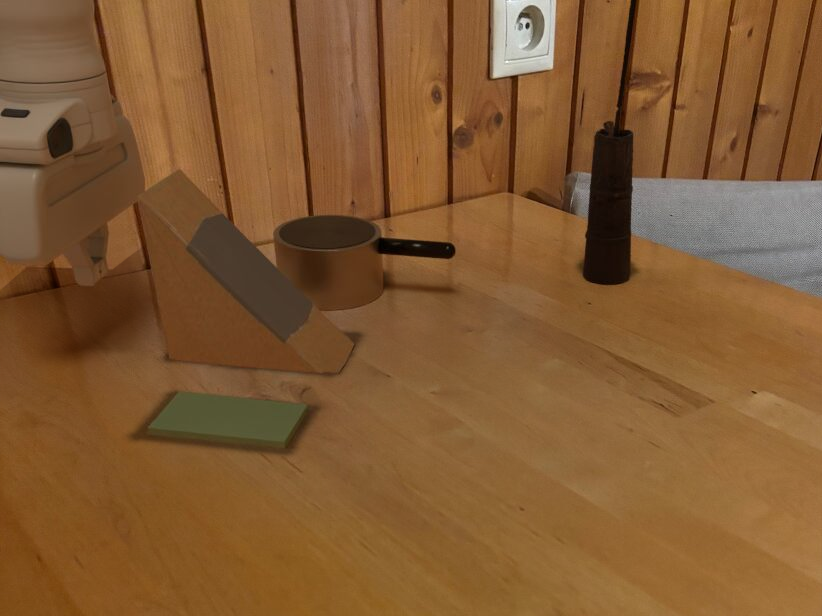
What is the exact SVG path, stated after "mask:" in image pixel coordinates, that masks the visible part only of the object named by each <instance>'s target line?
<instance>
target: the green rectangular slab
mask: <svg viewBox="0 0 822 616" xmlns="http://www.w3.org/2000/svg"><path fill="white" fill-rule="evenodd" d="M308 413H309V404H308V403H299V402H288V401H278V400H269V399H259V398H250V397H249V398H247V397H237V396H229V395H228V396H226V395H217V394H207V393H197V392H186V391H178V392H177V393H176V394H175V396H174V397H172V399H171V400H170V401H169V403H168V404H167V405H165V407H164V408H163V409H162V410H161V412H160V413H159V414H158V415H157V416H156V417H155V419H153V420H152V422H151V423H150V424H149V426H148V427H147V430H148V434H149V435H151V436H152V435H153V436H162V437H172V438H180V439H191V440H199V441H208V442H209V441H210V442H218V443H219V442H220V443H221V442H222V443H226V444H227V443H228V444H239V445H245V446H246V445H247V446H255V447H256V446H258V447H267V448H276V449H286V448H287V447H288V446H289V444H290V442H291V440H292V439H293V437H294V435H295V434H296V432H297V431H298V429H299V427H300V426H301V425H302V423H303V421H304V419H305V418H306V416H307V415H308Z"/></svg>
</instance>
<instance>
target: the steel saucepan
mask: <svg viewBox="0 0 822 616" xmlns="http://www.w3.org/2000/svg"><path fill="white" fill-rule="evenodd" d="M382 233H383V232H382V229H381V227H380V225H378V224H377V223H375V222H374V221H371V220H369V219H366V218H362V217H358V216H352V215H346V214H345V215H344V214H318V215H317V214H316V215H308V216H302V217H298V218H293V219H290V220H287V221H285V222H282V223H281V224H279V225H278V226H277V227H275V228H274V230H273V233H272V237H273V245H274V246H273V247H274V256H275V264H276V265H275V267H276V268H277V269H278V270H279V271H280V272H281V273H282V274H283V275H284V276H285V277H286V278H287V279H288V280H289V281H290V282H291V283H292V284H293V285H295V286H296V287H297V288H298V289H299V290H300V291H301V292H302V293H303V294H304V295H305V296H306V297H307V298H308V299H309V300H310V301H311V302H312V303H313V304H314V305H315V306H316V307H317V308H318V309H319V310H320V311H337V310H338V311H339V310H346V309H354V308H358V307H361V306H364V305H367V304H369V303H371V302H372V303H373V302H374V301H375V300H377V299H379V298H380V297H381V295H382V294H383V292H384V264H383V255H386V256H401V257H413V258H426V259H428V258H429V259H439V260H440V259H441V260H450V259H452V258H454V257H455V256H456V253H457V250H456V246H455V245H454V244H453V243H452V242H449V241H437V240H436V241H435V240H421V239H411V238H410V239H407V238H395V237H383V236H382V235H383V234H382Z"/></svg>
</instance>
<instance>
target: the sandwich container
mask: <svg viewBox="0 0 822 616" xmlns="http://www.w3.org/2000/svg"><path fill="white" fill-rule="evenodd" d="M137 204H138V209H139V214H140V220H141V224H142V229H143V234H144V239H145V245H146V249H147V254H148V260H149V265H150V269H151V275H152V279H153V285H154V289H155V294H156V300H157V304H158V305H157V306H158V309H159V314H160V319H161V324H162V331H163V334H164V340H165V344H166V349H167V355H168V359H170V360H173V361H182V362H191V363H192V362H193V363H201V364H210V365H221V366H232V367H244V368H255V369H256V368H257V369H268V370H279V371H280V370H281V371H292V372H305V373H315V374H323V373H334V374H339V373H340V372H341V371H342V369H343V368H344V366H345V364H346V363H347V361H348V359H349V358H350V355H351V353H352V351H353V349H354V346H355V342H353V341H352V340H351V339H350V338H349V337H348V336H347V335H346V334H345V333H344V332H343V331H341V329H340V328H338V326H336V324H334V322H332V320H330V319H329V318H328V317H327V316H326V315H325V313H323V312H322V310H319V309H318V308H317V307H316V306H315V305H314V304H313V303H312V302H311V301H310V300H309V299H308V298H307V297H306V296H305V295H304V294H303V293H302V292H301V291H300V290H299V289H298V288H297V287H296V286H295V285H293V284H292V283H291V282H290V281H289V280H288V279H287V278H286V277H285V276H284V275H283V274H282V273H281V272H280V271H279V270H278V269H277V266H276V265H275V264H274V263H273V262H272V261H271V260H270V259H269V258H268V257H267V256H266V254H264V253H263V252H262V251H261V250H260V249H259V248H258V247H257V246H256V245H255V244H254V243H253V242H252V241H250V240H249V238H247V236H246V235H245V234H244V233H243V232H242V231H241V230H240V229H239V228H238V227H237V226H236V225H235V224H234V223H233V222H232V221H231V220H230V219H229V218H228V217H227V216H226V215H225V214H224V213H223V212H222V210H220V209H219V208H218V206H216V205H215V204H214V202H213V201H211V199H209V197H208V196H207V195H206V194H205V193H204V192H203V191H202V190H201V189H200V188H199V187H198V186H197V185H196V184H195V183H194V181H192V180H191V179H190V178H189V177H188V176H187V175H186V174H185V172H184V171H183V170H182V169H181V168H178V169H177V170H175V171H173V172H172V173H170V174H169V175H167V176H166V177H164V178H162V179H161V180H159V181H158V182H157V183H154V184H153V185H152V186H150V187H149V188H148V189H145V191H144V192H143V193H142V194H140V195H139V196H138V201H137Z"/></svg>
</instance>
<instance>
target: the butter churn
mask: <svg viewBox="0 0 822 616" xmlns="http://www.w3.org/2000/svg"><path fill="white" fill-rule="evenodd" d="M636 8H637V0H630V5H629V9H628V20H627V25H626V32H625V33H626V34H625V41H624V42H625V43H624V49H623V50H624V51H623V52H624V54H623V61H622V69H621V75H620V83H619V84H620V85H619V89H618V97H617V101H616V108H617V110H616V112H615V117H614V121H612V120H606V121H605V122H603V124H602V125H603V128H600V129H599V130H596V131H595V134H594V137H593V148H592V160H591V172H590V183H589V198H588V207H587V208H588V209H587V210H588V211H587V224H586V225H587V226H586V231H585V234H584V239H585V245H584V246H585V247H584V259H583V270H582V277H583V278H584V279H585V280H586V281H588V282H590V283H595V284H602V285H617V284H622V283H624V282H626V281H627V280H629V279H630V276H631V260H632V259H631V258H632V255H631V254H632V211H633V208H632V205H633V201H632V200H633V191H634V186H633V173H634V171H633V163H634V132H633V131H632V130H630V129H620V127H621V125H620V124H621V117H622V111H623V103H624V102H623V101H624V97H625V96H624V94H625V88H626V87H625V85H626V78H627V71H628V64H629V56H630V51H631V42H632V36H633V27H634V21H635V13H636Z"/></svg>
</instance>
